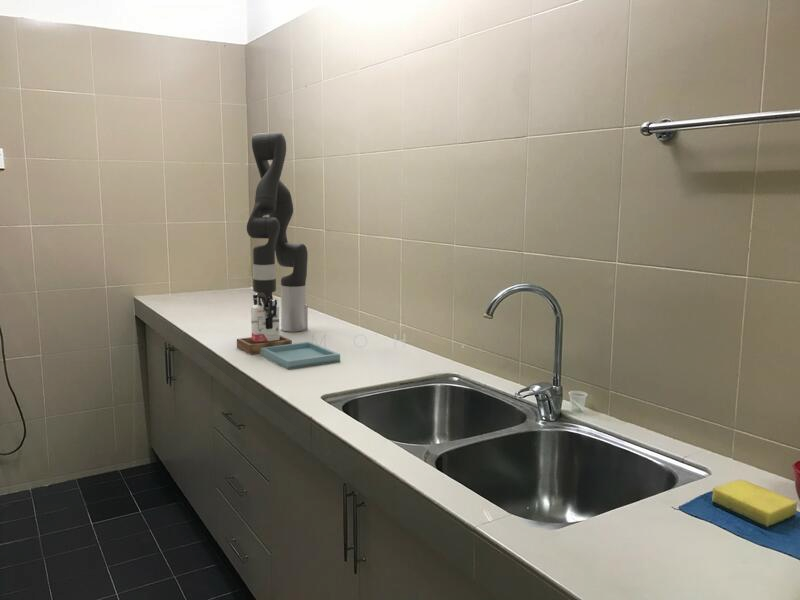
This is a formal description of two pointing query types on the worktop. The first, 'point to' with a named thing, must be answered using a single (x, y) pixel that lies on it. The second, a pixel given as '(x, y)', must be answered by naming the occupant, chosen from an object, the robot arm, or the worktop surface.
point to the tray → (299, 355)
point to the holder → (259, 344)
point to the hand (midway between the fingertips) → (265, 326)
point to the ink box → (263, 325)
